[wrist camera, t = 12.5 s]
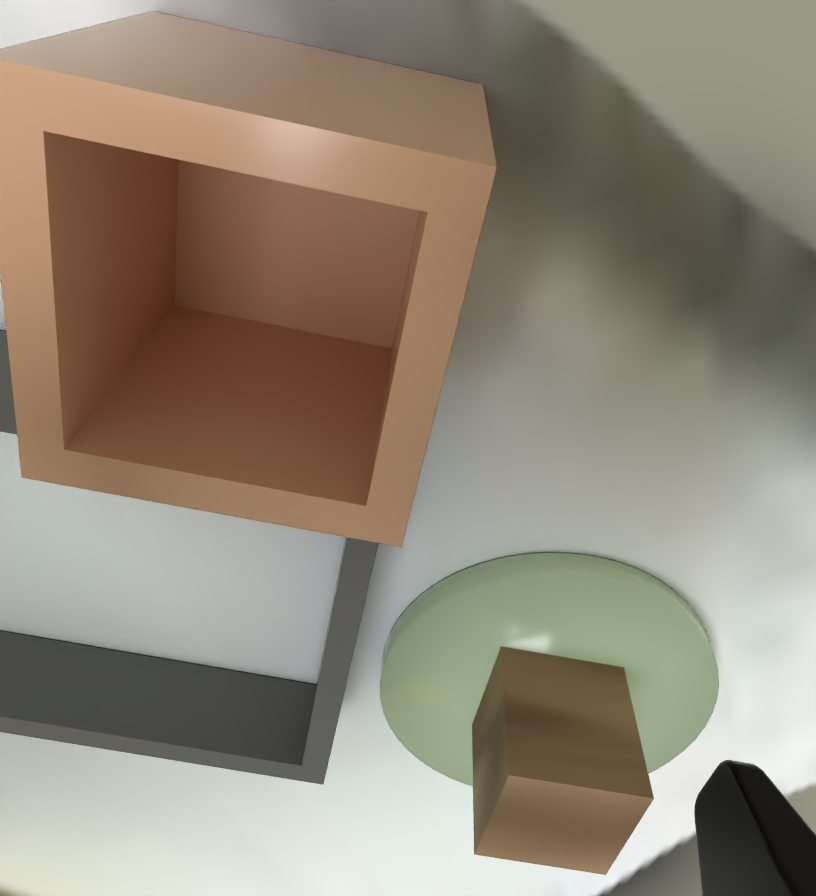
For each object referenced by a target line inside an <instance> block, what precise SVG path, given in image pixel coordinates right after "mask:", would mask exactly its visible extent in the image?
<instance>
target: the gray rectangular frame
mask: <svg viewBox="0 0 816 896" xmlns="http://www.w3.org/2000/svg"><path fill="white" fill-rule="evenodd" d="M0 431H2V432H7V433H13V434H17V427H16V418H15V408H14V399H13V389H12V379H11V370H10V360H9V351H8V341H7V332H6V331H3V330H0ZM377 547H378V543H376V542H371V541H365V540H360V539H355V538H349V537H346V539H345V544H344V549H343V554H342V559H341V565H340V570H339V575H338V580H337V585H336V590H335V595H334V600H333V605H332V610H331V616H330V621H329V626H328V631H327V636H326V641H325V646H324V651H323V656H322V661H321V667H320V672H319V677H318V682H317V685H313V684H307V683H302V682H296V681H290V680H284V679H278V678H272V677H267V676H261V675H255V674H249V673H243V672H237V671H232V670H226V669H220V668H214V667H208V666H202V665H196V664H191V663H185V662H179V661H173V660H167V659H161V658H156V657H150V656H144V655H138V654H132V653H126V652H121V651H115V650H109V649H103V648H97V647H91V646H85V645H80V644H74V643H68V642H62V641H56V640H50V639H45V638H39V637H33V636H27V635H21V634H15V633H10V632H4V631H0V732H5V733H11V734H17V735H23V736H29V737H35V738H41V739H48V740H54V741H60V742H66V743H72V744H78V745H84V746H90V747H97V748H103V749H109V750H115V751H121V752H127V753H133V754H139V755H146V756H152V757H158V758H164V759H170V760H176V761H182V762H188V763H195V764H201V765H207V766H213V767H219V768H225V769H231V770H237V771H244V772H250V773H256V774H262V775H268V776H274V777H280V778H287V779H293V780H299V781H305V782H311V783H317V784H323V783H324V779H325V775H326V770H327V766H328V761H329V757H330V753H331V748H332V744H333V739H334V735H335V731H336V726H337V722H338V718H339V713H340V709H341V704H342V700H343V696H344V691H345V687H346V682H347V678H348V674H349V669H350V665H351V661H352V656H353V652H354V647H355V643H356V639H357V634H358V630H359V625H360V621H361V617H362V612H363V608H364V604H365V599H366V595H367V590H368V586H369V582H370V577H371V573H372V568H373V564H374V560H375V555H376V551H377Z"/></svg>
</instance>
